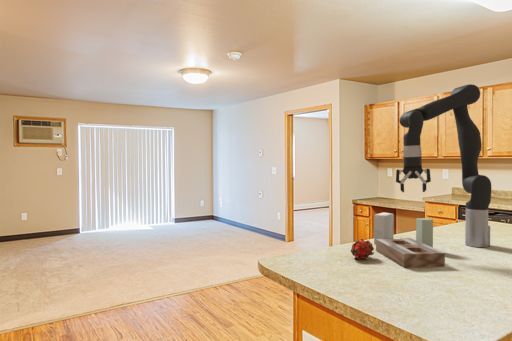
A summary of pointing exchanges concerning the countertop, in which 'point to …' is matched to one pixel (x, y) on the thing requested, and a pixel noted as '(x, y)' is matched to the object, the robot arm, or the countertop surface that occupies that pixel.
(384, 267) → the countertop surface
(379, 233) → the skincare box
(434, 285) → the countertop surface
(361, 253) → the dragon fruit
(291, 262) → the countertop surface
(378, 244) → the block
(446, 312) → the countertop surface
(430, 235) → the square peg
